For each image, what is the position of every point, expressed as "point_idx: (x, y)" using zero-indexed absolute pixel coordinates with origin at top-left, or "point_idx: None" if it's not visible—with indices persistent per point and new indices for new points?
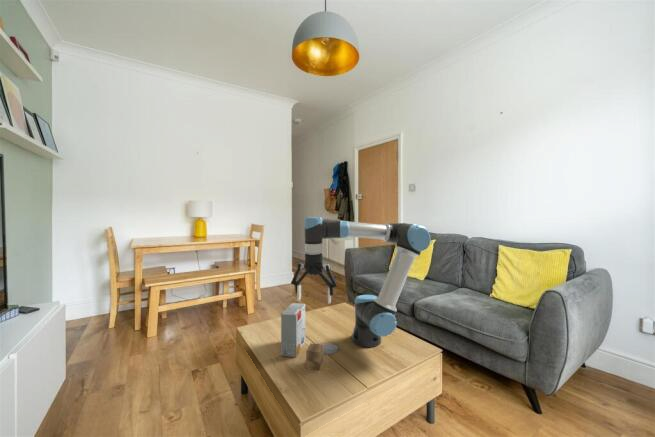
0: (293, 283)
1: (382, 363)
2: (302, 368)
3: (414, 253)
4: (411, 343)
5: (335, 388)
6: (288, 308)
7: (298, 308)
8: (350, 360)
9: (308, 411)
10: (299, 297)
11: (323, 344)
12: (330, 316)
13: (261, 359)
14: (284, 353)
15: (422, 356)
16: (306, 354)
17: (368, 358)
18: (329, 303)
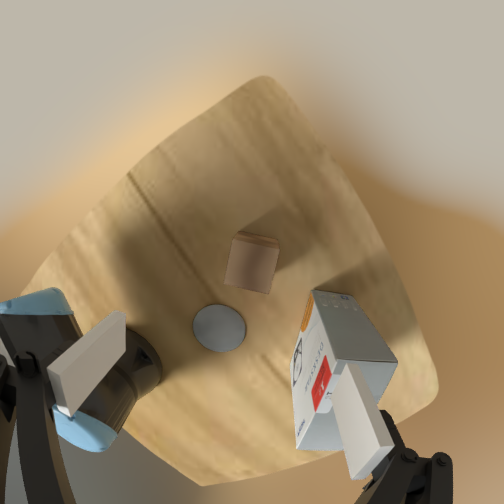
0: (432, 460)
1: (91, 260)
2: (288, 239)
3: None
4: None
5: (195, 159)
6: None
7: (325, 417)
8: (159, 274)
9: (256, 88)
10: (349, 384)
11: (235, 347)
12: (228, 455)
13: (399, 278)
14: (345, 296)
15: (34, 282)
16: (278, 246)
17: (118, 281)
18: (114, 310)
